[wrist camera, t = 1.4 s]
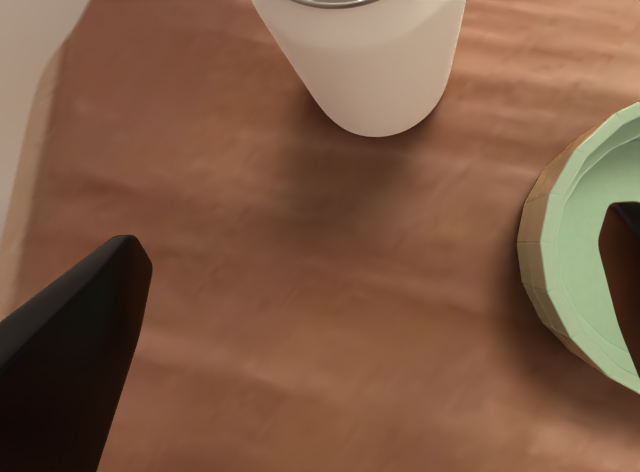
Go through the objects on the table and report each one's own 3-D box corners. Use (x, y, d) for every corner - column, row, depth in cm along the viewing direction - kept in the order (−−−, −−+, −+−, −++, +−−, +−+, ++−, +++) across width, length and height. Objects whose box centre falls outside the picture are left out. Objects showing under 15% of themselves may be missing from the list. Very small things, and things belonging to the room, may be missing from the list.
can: (286, 63, 24) (161, -117, 12) (393, -25, 23) (373, -317, 11) (364, 167, 23) (314, 83, 11) (478, 79, 22) (557, -114, 10)
